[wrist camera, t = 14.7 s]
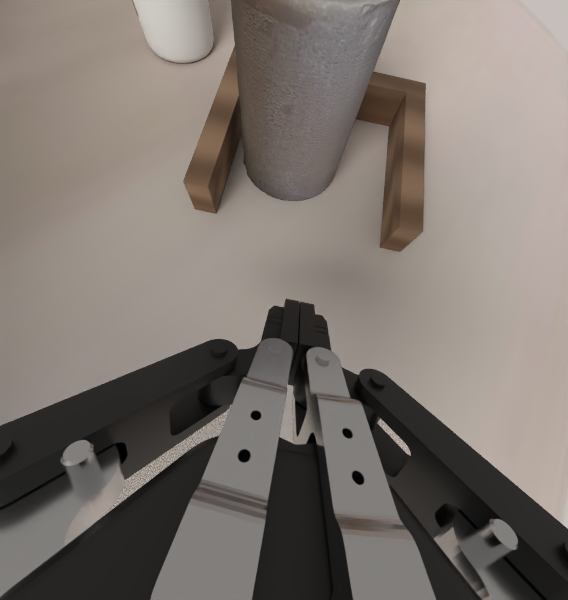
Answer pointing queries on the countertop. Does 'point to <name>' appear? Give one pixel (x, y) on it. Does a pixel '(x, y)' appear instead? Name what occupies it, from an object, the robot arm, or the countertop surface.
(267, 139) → the pillar candle
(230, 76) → the display frame
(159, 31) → the milk bottle
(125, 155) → the countertop surface
